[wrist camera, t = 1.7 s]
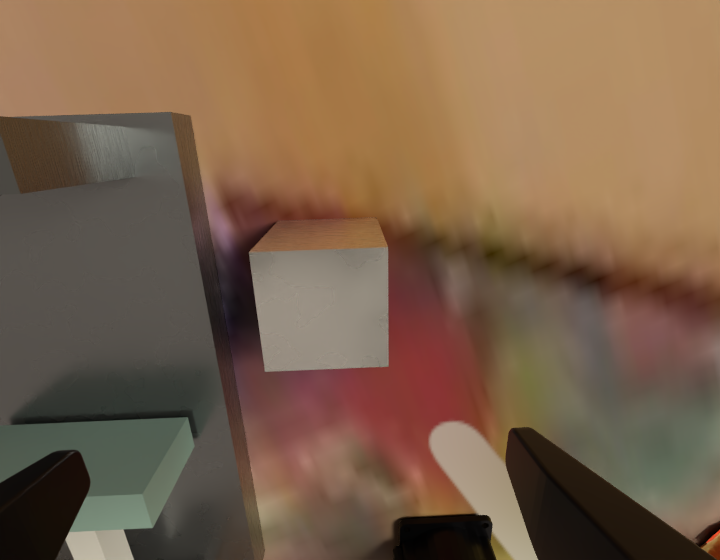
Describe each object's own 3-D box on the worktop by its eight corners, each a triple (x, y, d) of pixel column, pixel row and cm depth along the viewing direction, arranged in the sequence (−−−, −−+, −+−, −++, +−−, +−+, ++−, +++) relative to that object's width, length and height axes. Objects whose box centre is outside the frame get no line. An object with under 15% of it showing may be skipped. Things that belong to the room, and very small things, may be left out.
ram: (187, 417, 20) (142, 494, 16) (228, 591, 25) (202, 687, 20) (-1, 425, 20) (-101, 506, 15) (77, 599, 25) (18, 698, 20)
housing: (376, 217, 19) (388, 247, 13) (377, 306, 21) (388, 366, 15) (278, 220, 19) (248, 252, 13) (287, 310, 21) (265, 371, 15)
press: (190, 115, 17) (65, 92, 10) (264, 550, 27) (232, 707, 19) (-121, 125, 17) (-500, 109, 9) (69, 560, 27) (-40, 723, 19)
